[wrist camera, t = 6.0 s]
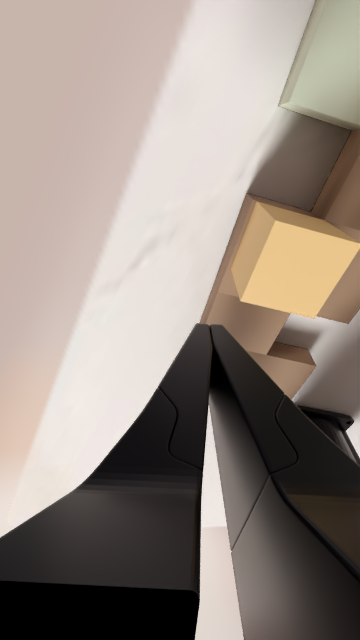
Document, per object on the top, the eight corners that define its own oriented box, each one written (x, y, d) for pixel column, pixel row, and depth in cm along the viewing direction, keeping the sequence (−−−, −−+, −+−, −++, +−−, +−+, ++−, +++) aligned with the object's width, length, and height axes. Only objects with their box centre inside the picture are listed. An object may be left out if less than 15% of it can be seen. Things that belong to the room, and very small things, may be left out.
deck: (550, -1, 11) (668, -47, 8) (271, 400, 26) (281, 431, 24) (347, -88, 10) (404, -171, 7) (178, 381, 25) (176, 411, 23)
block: (324, 220, 15) (362, 244, 11) (290, 283, 17) (314, 318, 14) (256, 201, 14) (275, 220, 11) (231, 268, 17) (240, 301, 13)
